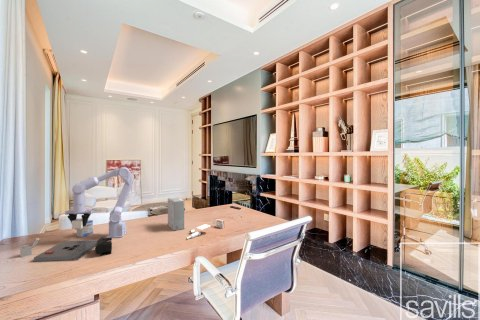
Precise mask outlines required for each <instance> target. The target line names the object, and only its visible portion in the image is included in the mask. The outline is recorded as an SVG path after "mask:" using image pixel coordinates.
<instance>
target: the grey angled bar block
mask: <svg viewBox="0 0 480 320" xmlns="http://www.w3.org/2000/svg"><path fill="white" fill-rule="evenodd" d="M39 241H40V238H39V237H36V238H35V240H34V241H33V242H32V245H29V244H26V245H22V246H21V247H20V249H19V256H20V258H25V257H30V256H32V255H33V248H35V247H36V246H37V244H38V243H39Z"/></svg>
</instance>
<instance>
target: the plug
mask: <svg viewBox="0 0 480 320" xmlns="http://www.w3.org/2000/svg"><path fill="white" fill-rule="evenodd" d="M86 226H87V224H86ZM81 228H85V226H84V227H83V220H82V218H76V220H73V221H72V223H71V229H72V230H73V229H74V230H76V231H77V229H80V230H81Z"/></svg>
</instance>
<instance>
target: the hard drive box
mask: <svg viewBox="0 0 480 320" xmlns="http://www.w3.org/2000/svg"><path fill="white" fill-rule="evenodd" d="M167 226H169V228H171V229H172V231H179V230H184V229H185V200H184V199H182V198H179V197H168V198H167Z"/></svg>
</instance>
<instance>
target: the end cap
mask: <svg viewBox="0 0 480 320" xmlns="http://www.w3.org/2000/svg"><path fill="white" fill-rule="evenodd" d="M97 240H98V241H97V244H96V247H95V248H94V252H95V253H96V255H98V256H100V257H104V256H108V255H109V256H110V255H111V254H112V250H113V242H112V241H113V238H112V237H110V238H106V237H105V238H104V236H101V237H100V238H98V239H97Z"/></svg>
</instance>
